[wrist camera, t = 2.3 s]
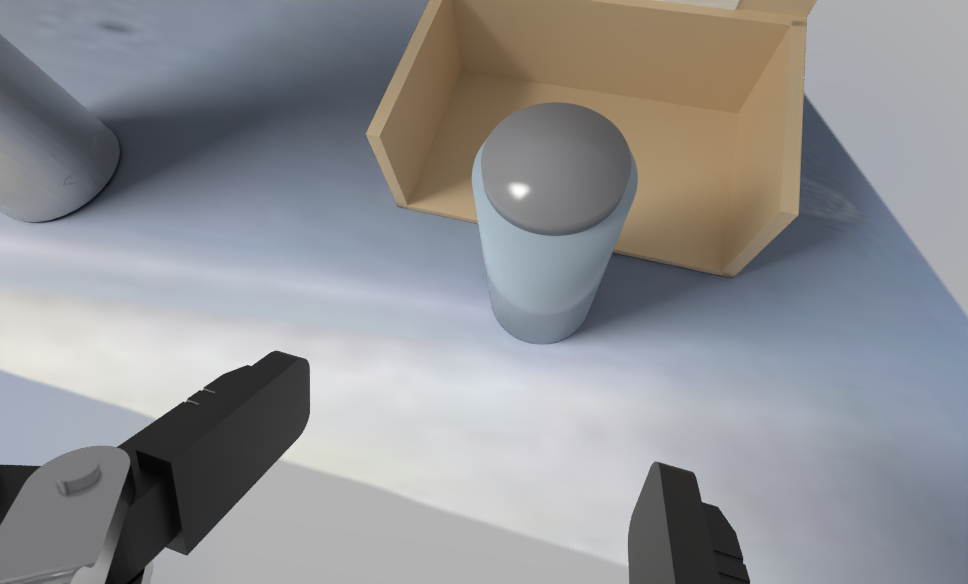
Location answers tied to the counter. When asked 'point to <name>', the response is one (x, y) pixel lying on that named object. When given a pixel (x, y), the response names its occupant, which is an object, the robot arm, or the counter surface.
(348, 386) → the counter surface
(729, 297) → the counter surface
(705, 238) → the mailer
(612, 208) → the canister
